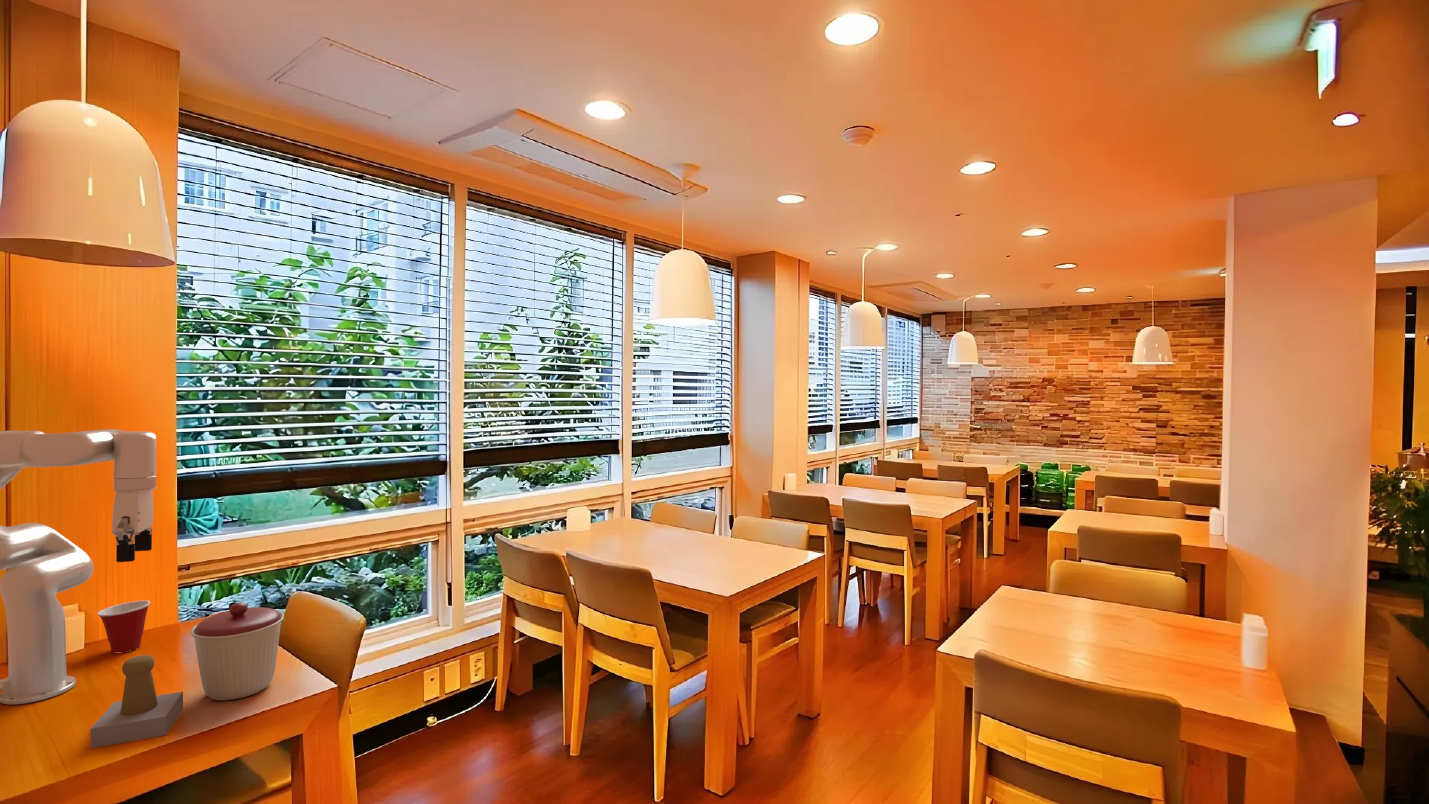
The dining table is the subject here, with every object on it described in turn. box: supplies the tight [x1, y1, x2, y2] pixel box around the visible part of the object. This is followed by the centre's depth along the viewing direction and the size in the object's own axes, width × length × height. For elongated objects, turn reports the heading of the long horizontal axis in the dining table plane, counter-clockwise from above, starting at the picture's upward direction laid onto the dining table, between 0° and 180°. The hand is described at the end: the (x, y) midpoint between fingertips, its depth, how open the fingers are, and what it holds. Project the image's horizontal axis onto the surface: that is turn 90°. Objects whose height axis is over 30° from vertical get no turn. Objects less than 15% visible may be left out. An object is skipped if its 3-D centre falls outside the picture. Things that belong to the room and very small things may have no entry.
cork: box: [120, 654, 158, 715], centre depth 141 cm, size 6×6×11 cm
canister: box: [189, 602, 285, 701], centre depth 158 cm, size 18×18×21 cm
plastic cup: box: [97, 600, 151, 653], centre depth 180 cm, size 11×11×12 cm
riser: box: [90, 691, 184, 749], centre depth 141 cm, size 12×12×4 cm
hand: (134, 555), depth 156 cm, fingers open, 9 cm apart
